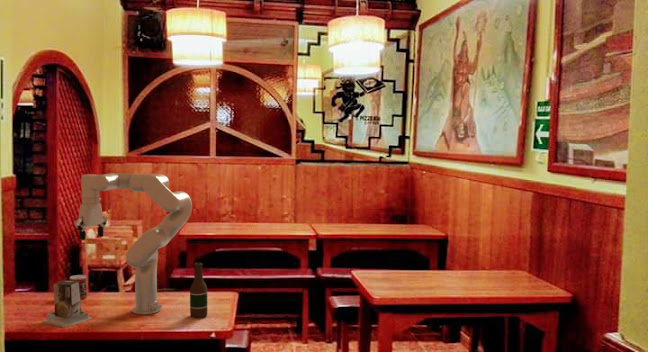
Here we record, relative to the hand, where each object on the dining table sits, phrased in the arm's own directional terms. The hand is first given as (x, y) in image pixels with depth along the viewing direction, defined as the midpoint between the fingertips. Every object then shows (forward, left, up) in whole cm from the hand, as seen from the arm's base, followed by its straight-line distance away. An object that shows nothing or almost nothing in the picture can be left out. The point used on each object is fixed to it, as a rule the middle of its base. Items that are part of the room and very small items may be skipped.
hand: (91, 237), depth 269 cm
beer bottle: (-50, -17, -33) cm, 62 cm away
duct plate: (-6, +18, -33) cm, 38 cm away
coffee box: (-6, +17, -33) cm, 37 cm away
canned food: (+20, -6, -33) cm, 40 cm away
